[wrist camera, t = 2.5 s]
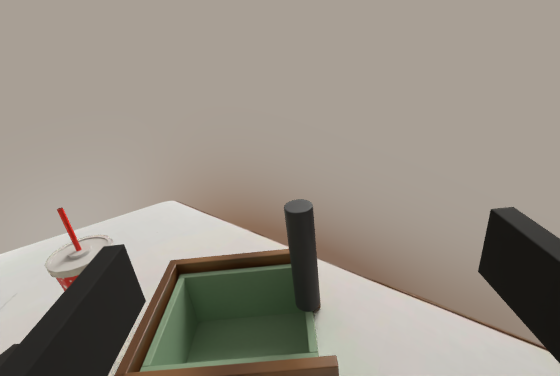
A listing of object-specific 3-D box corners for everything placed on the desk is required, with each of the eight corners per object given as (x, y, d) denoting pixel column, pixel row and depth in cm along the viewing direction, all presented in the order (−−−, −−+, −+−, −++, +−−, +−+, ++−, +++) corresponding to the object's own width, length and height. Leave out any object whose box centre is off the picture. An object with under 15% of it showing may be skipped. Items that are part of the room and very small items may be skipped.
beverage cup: (131, 288, 39) (91, 189, 33) (143, 317, 35) (99, 207, 29) (77, 313, 36) (22, 209, 30) (82, 349, 32) (18, 234, 26)
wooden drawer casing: (319, 302, 34) (315, 246, 31) (341, 435, 22) (338, 366, 19) (188, 314, 34) (170, 260, 31) (143, 449, 23) (109, 385, 20)
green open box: (317, 310, 33) (306, 175, 26) (333, 416, 23) (322, 248, 17) (194, 321, 33) (154, 191, 27) (163, 429, 24) (89, 271, 17)
